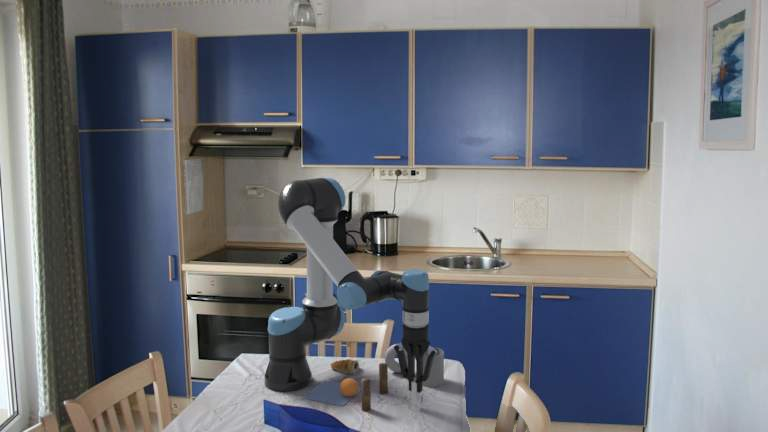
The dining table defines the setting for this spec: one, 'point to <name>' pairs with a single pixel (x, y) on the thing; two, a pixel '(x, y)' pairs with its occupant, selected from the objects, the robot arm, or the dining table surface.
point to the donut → (393, 359)
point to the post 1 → (365, 394)
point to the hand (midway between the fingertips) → (415, 401)
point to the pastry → (345, 366)
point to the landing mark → (329, 393)
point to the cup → (435, 369)
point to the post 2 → (383, 378)
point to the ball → (349, 387)
